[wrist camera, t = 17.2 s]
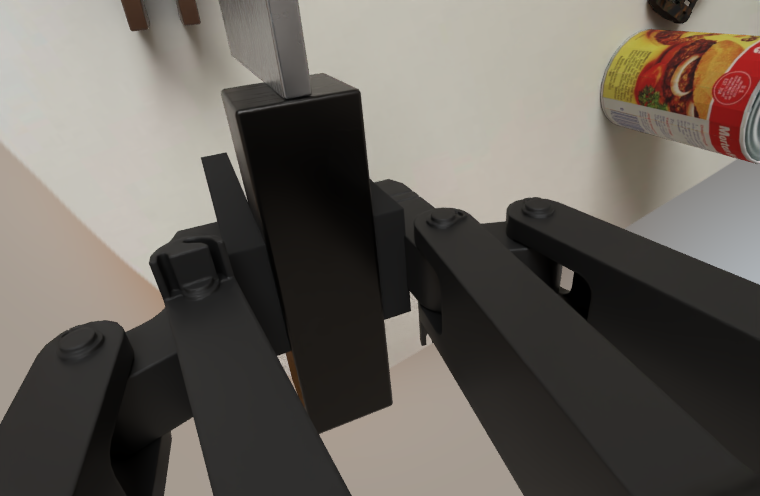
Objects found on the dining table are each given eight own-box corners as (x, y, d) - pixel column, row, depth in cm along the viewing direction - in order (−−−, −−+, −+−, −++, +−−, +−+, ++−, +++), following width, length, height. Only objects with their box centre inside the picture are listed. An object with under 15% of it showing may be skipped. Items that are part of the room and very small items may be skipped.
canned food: (686, 54, 41) (849, 71, 31) (636, 138, 43) (775, 178, 34) (636, 11, 37) (805, 15, 27) (584, 106, 39) (724, 141, 30)
